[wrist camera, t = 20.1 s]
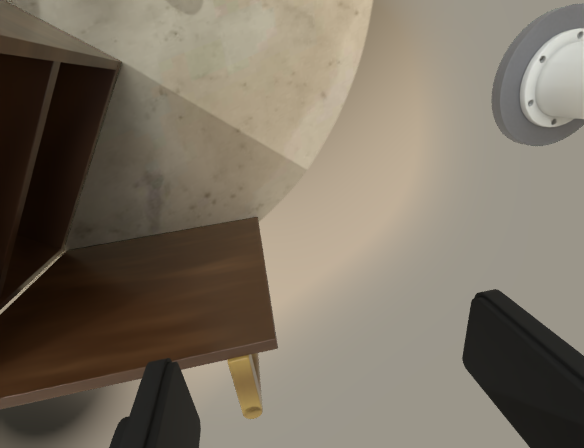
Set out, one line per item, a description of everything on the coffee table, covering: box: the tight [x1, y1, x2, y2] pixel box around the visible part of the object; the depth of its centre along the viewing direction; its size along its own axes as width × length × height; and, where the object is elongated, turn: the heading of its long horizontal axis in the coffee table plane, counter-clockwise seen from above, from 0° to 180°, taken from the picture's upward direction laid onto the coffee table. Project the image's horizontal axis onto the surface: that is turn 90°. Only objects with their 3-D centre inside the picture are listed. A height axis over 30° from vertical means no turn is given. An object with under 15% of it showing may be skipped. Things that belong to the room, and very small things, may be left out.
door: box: [0, 217, 278, 419], centre depth 34 cm, size 8×26×24 cm, turn 97°
